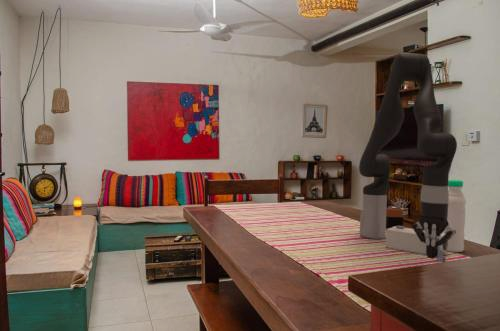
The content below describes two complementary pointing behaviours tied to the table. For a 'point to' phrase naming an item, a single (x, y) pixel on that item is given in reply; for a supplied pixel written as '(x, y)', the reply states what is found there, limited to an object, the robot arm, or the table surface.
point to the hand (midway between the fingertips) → (431, 257)
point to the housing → (407, 240)
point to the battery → (394, 217)
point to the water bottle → (456, 215)
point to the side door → (441, 254)
